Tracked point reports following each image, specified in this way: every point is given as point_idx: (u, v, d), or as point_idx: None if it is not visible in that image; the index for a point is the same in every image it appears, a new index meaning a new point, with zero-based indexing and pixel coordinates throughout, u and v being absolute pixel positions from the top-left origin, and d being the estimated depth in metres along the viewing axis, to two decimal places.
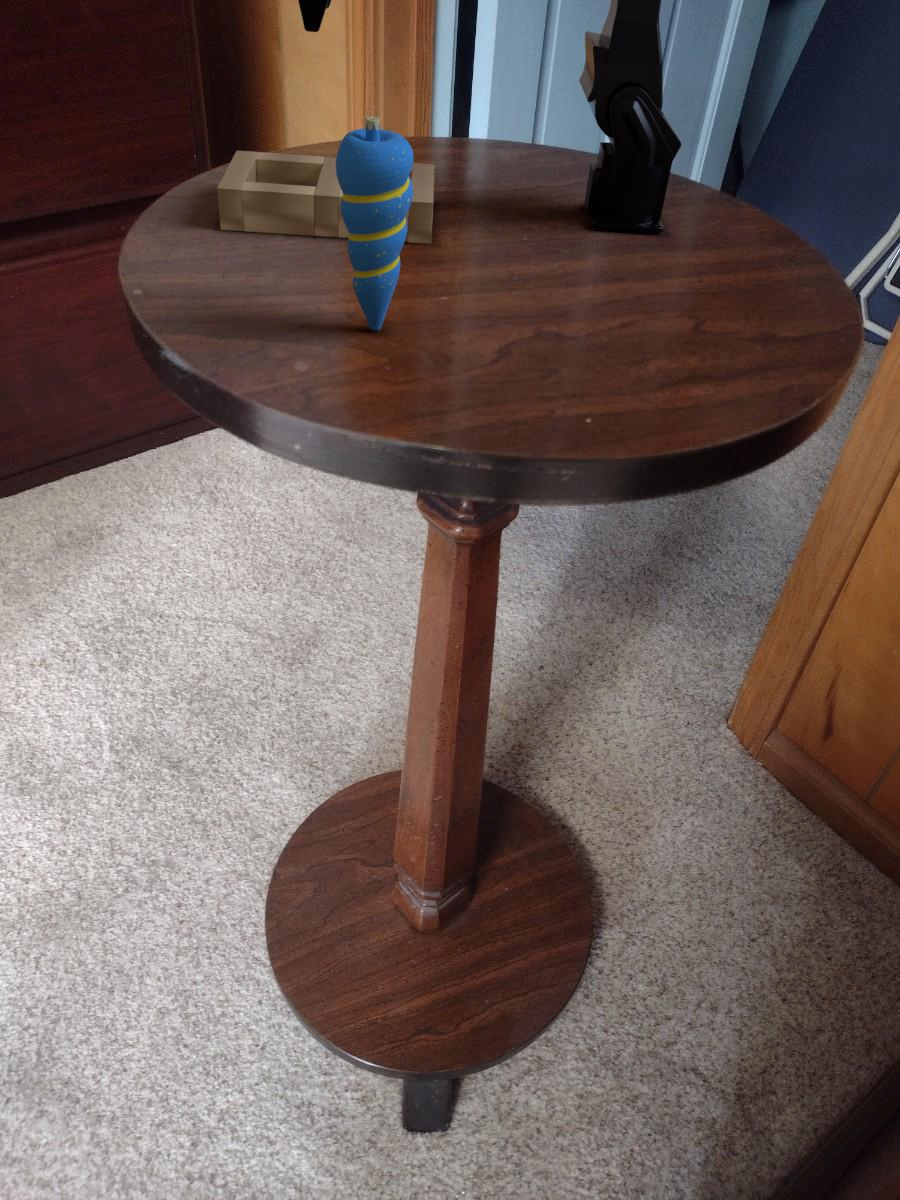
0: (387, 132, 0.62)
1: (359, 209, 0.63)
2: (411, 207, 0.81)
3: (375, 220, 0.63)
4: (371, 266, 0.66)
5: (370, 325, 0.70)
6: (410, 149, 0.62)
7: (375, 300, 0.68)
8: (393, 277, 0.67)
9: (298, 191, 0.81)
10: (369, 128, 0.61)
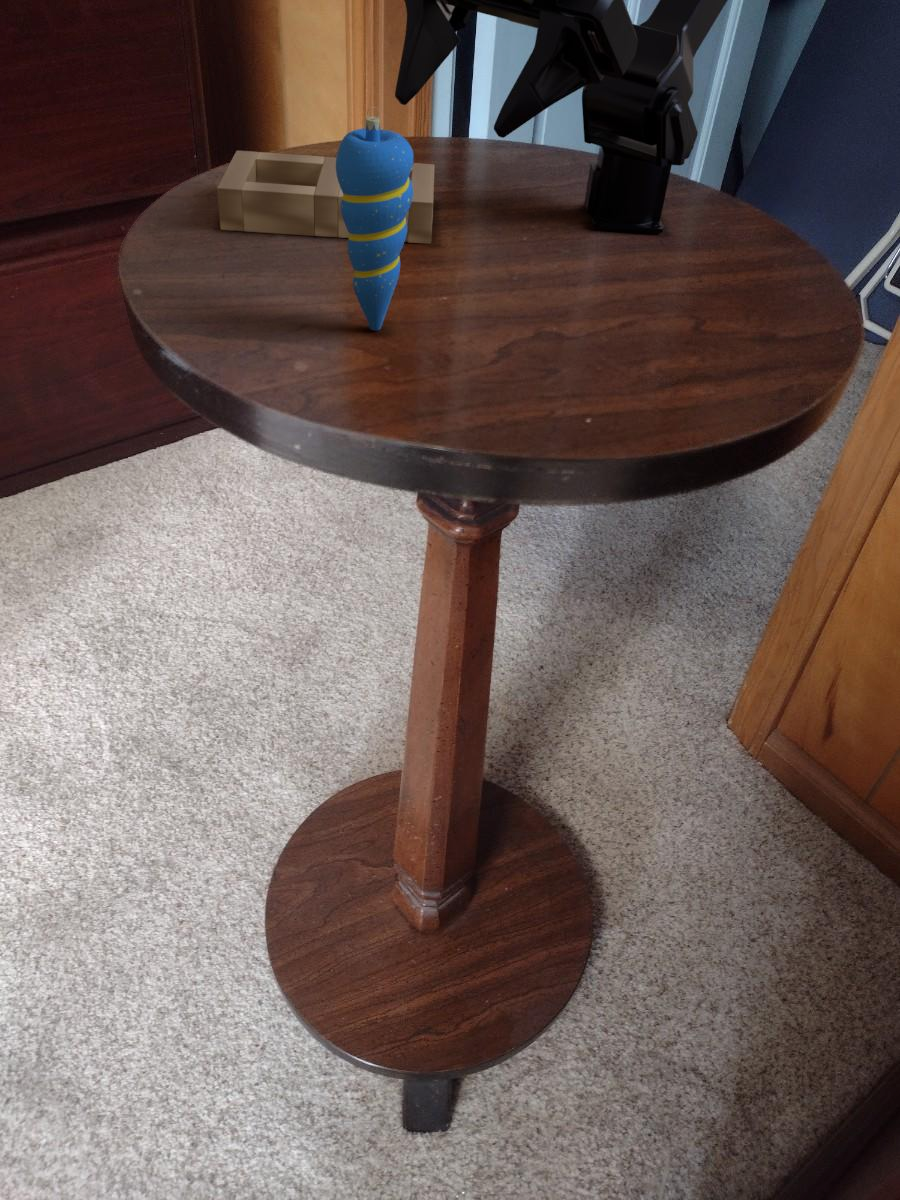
0: (387, 132, 0.62)
1: (359, 209, 0.63)
2: (411, 207, 0.81)
3: (375, 220, 0.63)
4: (371, 266, 0.66)
5: (370, 325, 0.70)
6: (410, 149, 0.62)
7: (375, 300, 0.68)
8: (393, 277, 0.67)
9: (298, 191, 0.81)
10: (369, 128, 0.61)
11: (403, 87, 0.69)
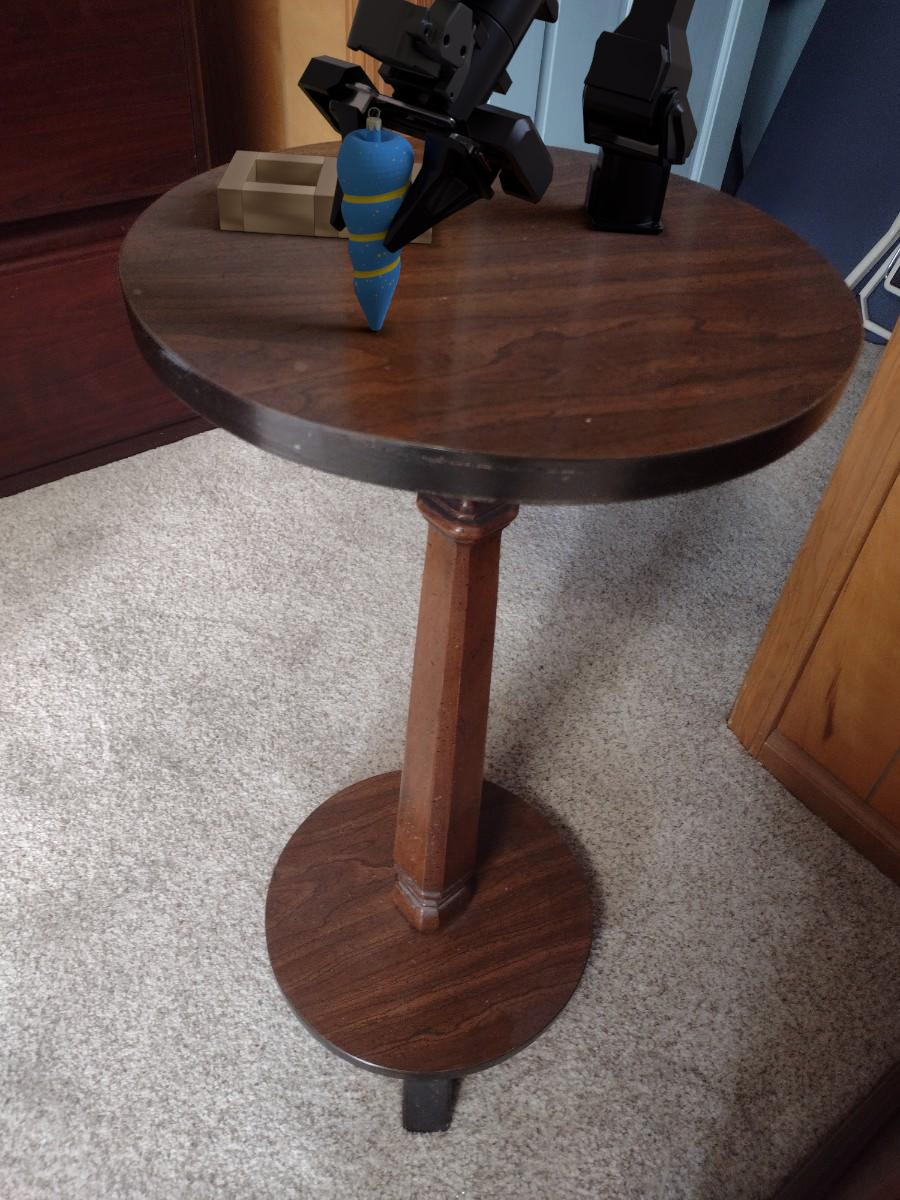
0: (388, 132, 0.62)
1: (360, 209, 0.63)
2: None
3: (376, 221, 0.63)
4: (371, 266, 0.66)
5: (370, 325, 0.70)
6: (411, 150, 0.62)
7: (375, 300, 0.68)
8: (393, 277, 0.67)
9: (298, 191, 0.81)
10: (370, 128, 0.61)
11: (338, 215, 0.66)
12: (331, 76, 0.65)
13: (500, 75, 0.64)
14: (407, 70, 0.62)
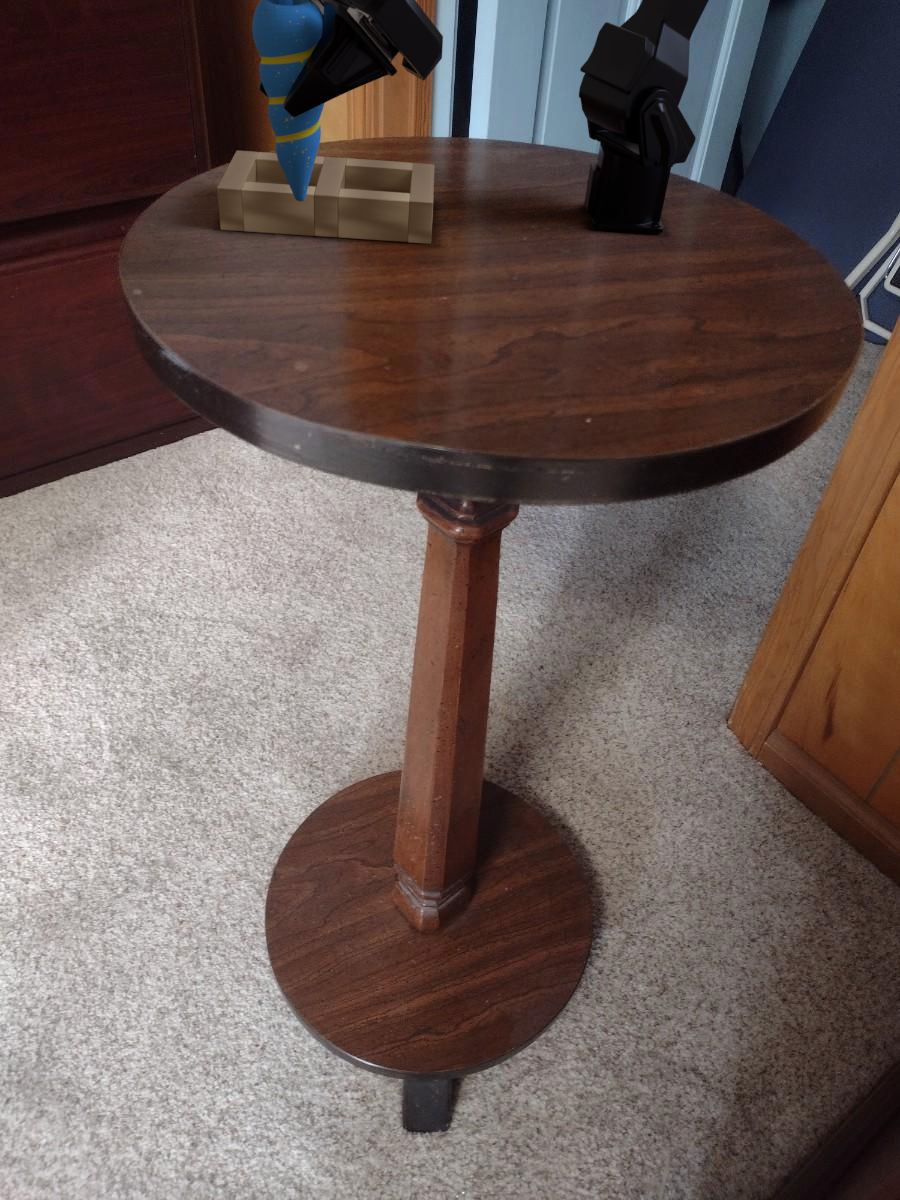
0: (303, 0, 0.66)
1: (265, 70, 0.67)
2: (411, 207, 0.81)
3: (279, 83, 0.67)
4: (283, 131, 0.70)
5: (293, 194, 0.74)
6: (315, 16, 0.65)
7: (290, 167, 0.72)
8: (306, 146, 0.71)
9: None
10: None
11: None
12: None
13: None
14: None
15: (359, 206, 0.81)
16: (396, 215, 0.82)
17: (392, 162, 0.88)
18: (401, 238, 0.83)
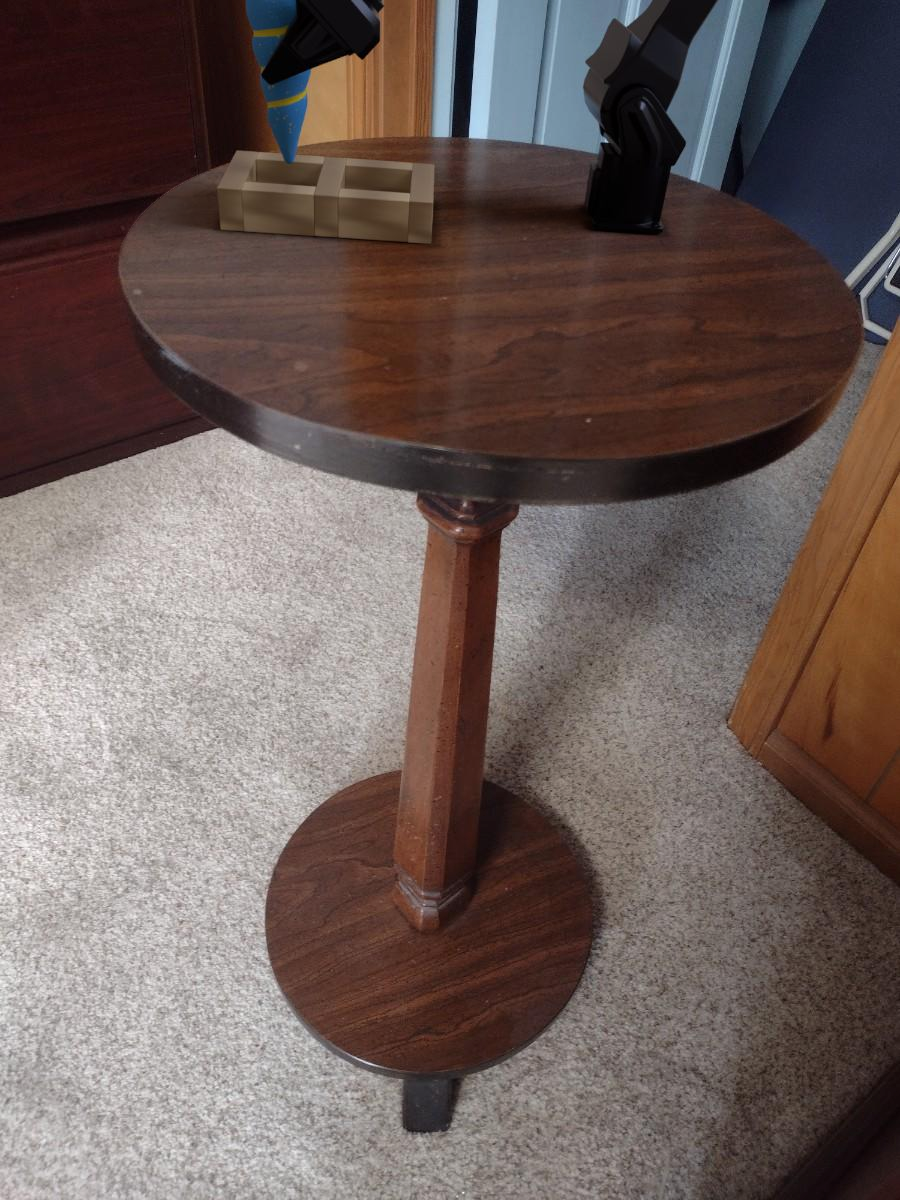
0: None
1: (253, 42, 0.77)
2: (411, 207, 0.81)
3: (261, 54, 0.77)
4: (268, 97, 0.79)
5: (283, 156, 0.83)
6: None
7: (276, 131, 0.81)
8: (287, 113, 0.80)
9: (298, 191, 0.81)
10: None
11: None
12: None
13: None
14: None
15: (359, 206, 0.81)
16: (396, 215, 0.82)
17: (392, 162, 0.88)
18: (401, 238, 0.83)
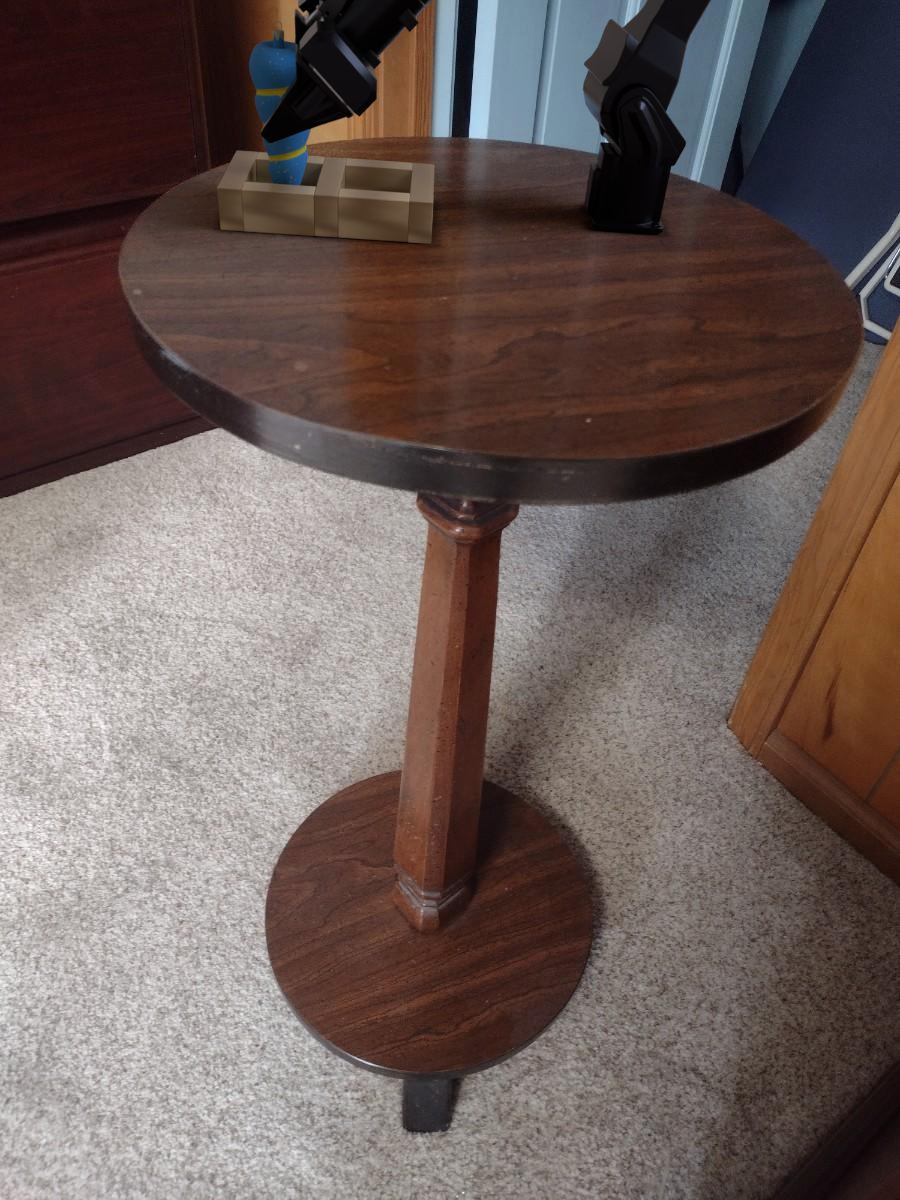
0: (294, 45, 0.78)
1: (256, 100, 0.80)
2: (411, 207, 0.81)
3: (263, 111, 0.80)
4: (269, 152, 0.82)
5: None
6: (294, 59, 0.77)
7: (276, 183, 0.84)
8: (288, 167, 0.83)
9: (298, 191, 0.81)
10: (273, 37, 0.77)
11: None
12: None
13: (396, 11, 0.75)
14: None
15: (359, 206, 0.81)
16: (396, 215, 0.82)
17: (392, 162, 0.88)
18: (401, 238, 0.83)
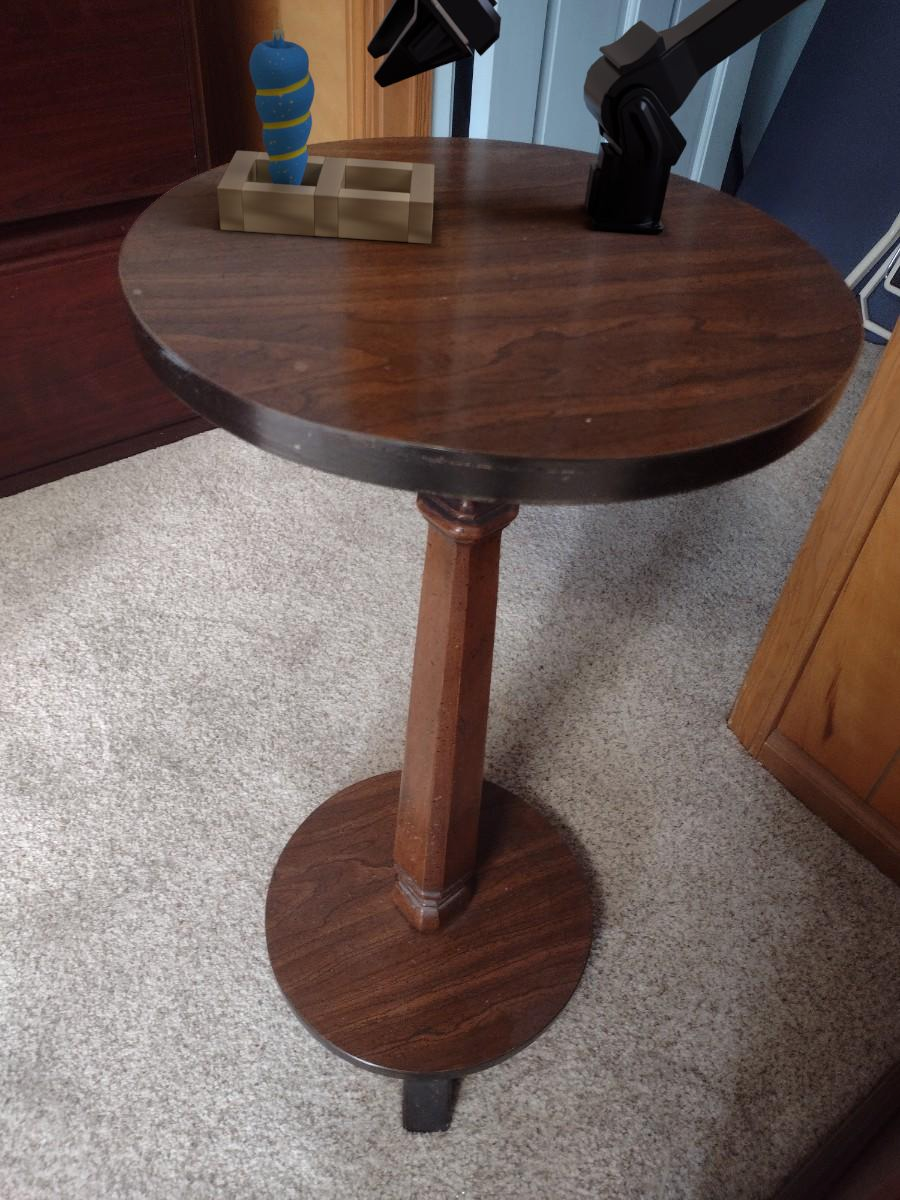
0: (294, 45, 0.78)
1: (256, 100, 0.80)
2: (411, 207, 0.81)
3: (263, 111, 0.79)
4: (270, 152, 0.82)
5: None
6: (294, 59, 0.77)
7: (276, 183, 0.84)
8: (288, 167, 0.83)
9: (298, 191, 0.81)
10: (273, 37, 0.77)
11: (373, 43, 0.82)
12: None
13: None
14: None
15: (359, 206, 0.81)
16: (396, 215, 0.82)
17: (392, 162, 0.88)
18: (401, 238, 0.83)
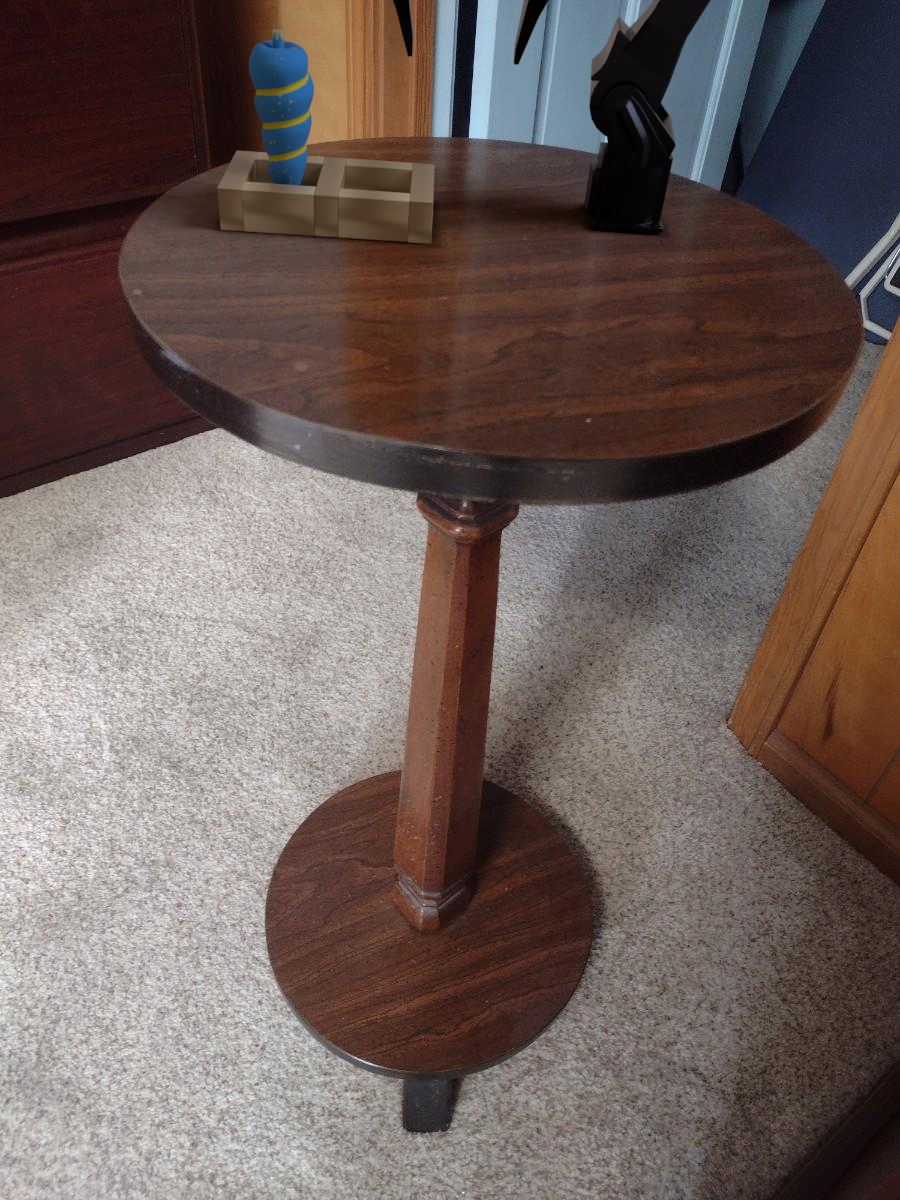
0: (293, 45, 0.78)
1: (255, 100, 0.80)
2: (411, 207, 0.81)
3: (263, 111, 0.80)
4: (269, 152, 0.82)
5: None
6: (293, 59, 0.77)
7: (276, 183, 0.84)
8: (288, 167, 0.83)
9: (298, 191, 0.81)
10: (272, 37, 0.77)
11: (514, 52, 0.84)
12: None
13: None
14: None
15: (359, 206, 0.81)
16: (396, 215, 0.82)
17: (392, 162, 0.88)
18: (401, 238, 0.83)
